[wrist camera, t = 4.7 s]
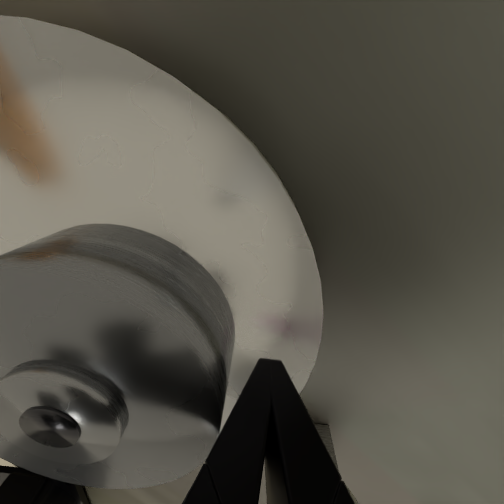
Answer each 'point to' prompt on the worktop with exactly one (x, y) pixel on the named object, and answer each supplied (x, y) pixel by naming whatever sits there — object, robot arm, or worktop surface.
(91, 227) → the cover
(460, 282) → the worktop surface
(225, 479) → the robot arm
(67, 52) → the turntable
